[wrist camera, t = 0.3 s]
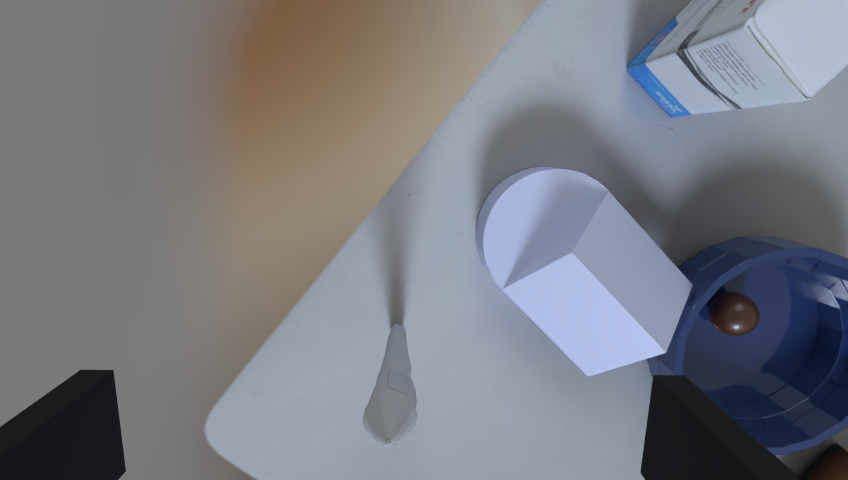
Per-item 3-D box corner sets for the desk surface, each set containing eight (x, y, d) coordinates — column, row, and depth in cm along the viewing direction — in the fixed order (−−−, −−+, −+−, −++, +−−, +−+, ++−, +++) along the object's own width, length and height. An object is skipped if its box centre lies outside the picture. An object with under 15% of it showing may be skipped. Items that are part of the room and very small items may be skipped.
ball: (701, 286, 34) (728, 299, 31) (742, 286, 34) (774, 299, 32) (696, 326, 35) (722, 343, 32) (736, 326, 35) (767, 343, 32)
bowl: (652, 234, 34) (688, 246, 30) (848, 236, 35) (912, 249, 30) (632, 418, 37) (663, 455, 32) (815, 418, 37) (870, 455, 33)
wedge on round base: (665, 271, 35) (546, 138, 33) (726, 301, 28) (580, 136, 26) (571, 355, 36) (449, 231, 34) (608, 402, 29) (459, 251, 27)
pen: (373, 338, 35) (350, 461, 21) (387, 305, 35) (371, 408, 21) (406, 350, 35) (403, 478, 22) (419, 317, 35) (425, 427, 21)
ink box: (669, 121, 33) (811, 106, 21) (622, 67, 32) (741, 21, 20) (768, 25, 32) (973, -45, 20) (722, -33, 31) (906, -140, 19)
